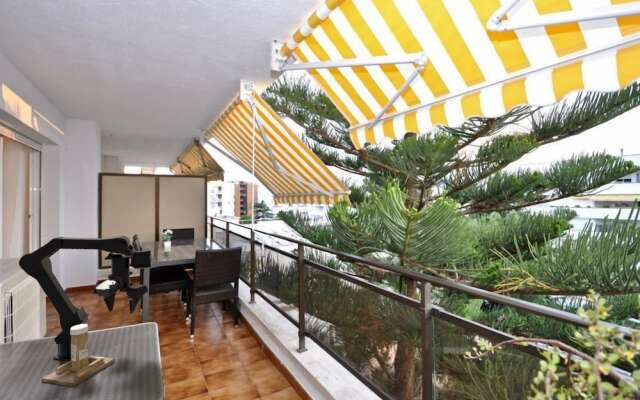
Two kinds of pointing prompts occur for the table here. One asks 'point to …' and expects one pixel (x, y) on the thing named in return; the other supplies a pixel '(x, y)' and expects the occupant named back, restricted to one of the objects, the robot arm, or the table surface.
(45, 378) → the bottle cradle
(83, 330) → the sprinkles bottle
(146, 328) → the table surface
